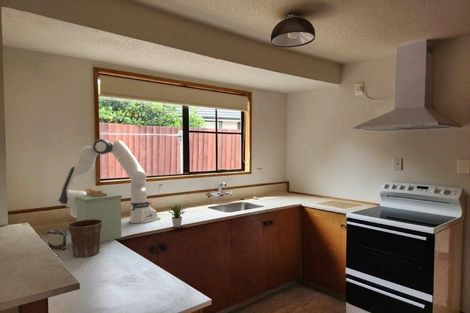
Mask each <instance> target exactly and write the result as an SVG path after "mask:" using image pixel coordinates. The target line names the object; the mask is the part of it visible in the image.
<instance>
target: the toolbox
mask: <svg viewBox="0 0 470 313" xmlns="http://www.w3.org/2000/svg"><path fill="white" fill-rule="evenodd" d="M122 197H123V196H122V194H117V193H114V192H104V191H102V194H94V193H90V192H89V193H88V195H83V196H75V200H76V203H77V218H76V221H82V220H91V219H96V220H102V224H101V231H100V243H104V242H108V241H109V242H110V241H113V240H116V239H122V206H121V205H122V203H121V202H122V200H121V199H122Z"/></svg>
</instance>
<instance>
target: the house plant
mask: <svg viewBox="0 0 470 313" xmlns="http://www.w3.org/2000/svg"><path fill="white" fill-rule="evenodd" d="M186 206H188V205H186ZM170 209H171V211H169V213H170V214H172V215H171V221H172V226H173V228H180V227H182V220H183V217H182V215H184V214H185V209H187V207H185V206H183V204H181V203H179V205H177V202H175V204H173V206H170Z"/></svg>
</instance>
